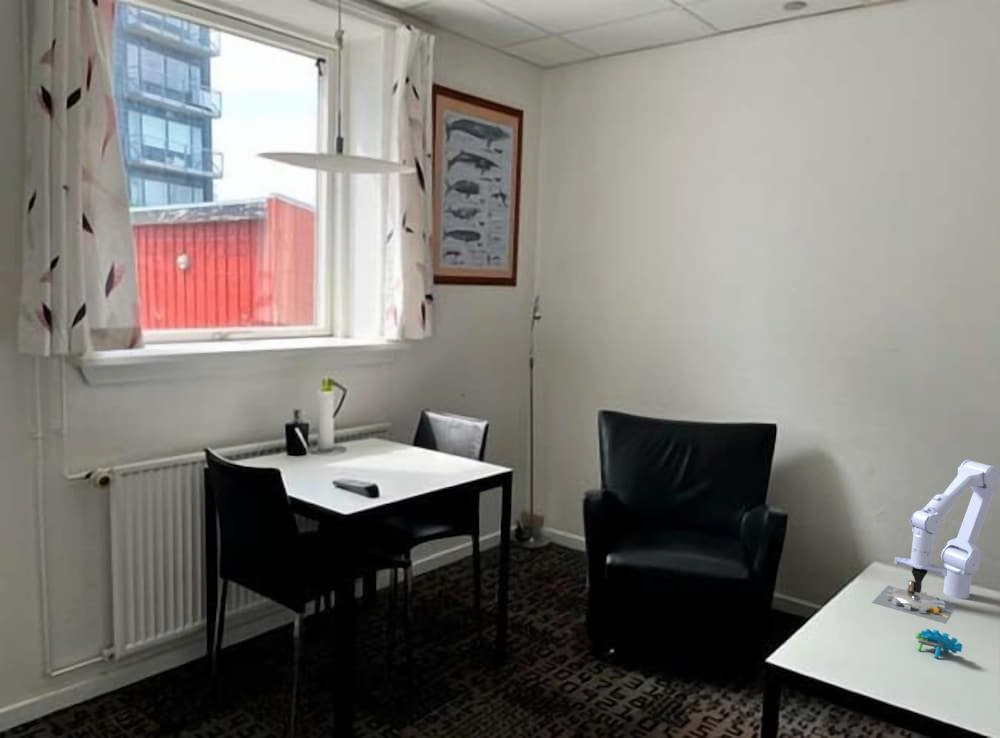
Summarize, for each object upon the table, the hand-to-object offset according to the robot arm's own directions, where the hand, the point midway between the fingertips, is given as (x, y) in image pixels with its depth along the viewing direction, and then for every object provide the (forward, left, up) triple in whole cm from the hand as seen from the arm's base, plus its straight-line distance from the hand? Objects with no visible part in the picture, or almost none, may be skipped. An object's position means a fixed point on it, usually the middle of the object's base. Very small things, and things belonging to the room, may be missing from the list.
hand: (917, 591), depth 242 cm
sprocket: (+5, 0, -2) cm, 5 cm away
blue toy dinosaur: (+36, +12, -4) cm, 38 cm away
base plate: (+5, 0, -3) cm, 6 cm away
